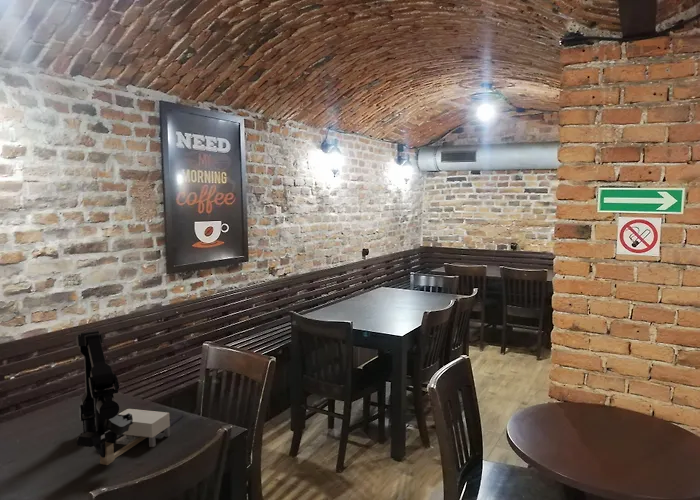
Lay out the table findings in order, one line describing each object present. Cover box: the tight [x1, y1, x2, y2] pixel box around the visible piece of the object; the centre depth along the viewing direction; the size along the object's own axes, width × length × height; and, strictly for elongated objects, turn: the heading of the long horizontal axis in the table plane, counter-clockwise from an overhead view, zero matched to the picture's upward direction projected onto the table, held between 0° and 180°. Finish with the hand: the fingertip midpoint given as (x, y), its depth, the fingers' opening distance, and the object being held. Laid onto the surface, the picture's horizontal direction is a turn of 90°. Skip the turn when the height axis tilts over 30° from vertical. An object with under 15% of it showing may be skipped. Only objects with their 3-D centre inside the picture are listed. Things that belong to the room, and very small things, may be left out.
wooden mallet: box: [99, 436, 148, 466], centre depth 177 cm, size 10×21×6 cm, turn 164°
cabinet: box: [116, 408, 171, 448], centre depth 185 cm, size 18×10×8 cm, turn 74°
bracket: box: [162, 413, 184, 433], centre depth 199 cm, size 14×15×3 cm
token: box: [115, 434, 140, 446], centre depth 184 cm, size 6×6×1 cm
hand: (106, 454), depth 167 cm, fingers closed on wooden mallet, 3 cm apart
